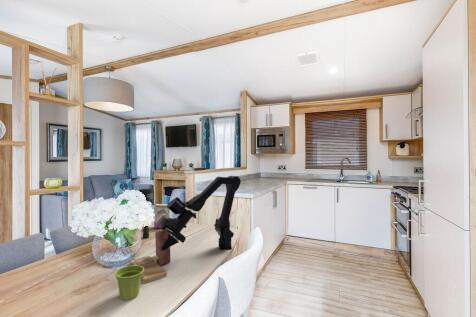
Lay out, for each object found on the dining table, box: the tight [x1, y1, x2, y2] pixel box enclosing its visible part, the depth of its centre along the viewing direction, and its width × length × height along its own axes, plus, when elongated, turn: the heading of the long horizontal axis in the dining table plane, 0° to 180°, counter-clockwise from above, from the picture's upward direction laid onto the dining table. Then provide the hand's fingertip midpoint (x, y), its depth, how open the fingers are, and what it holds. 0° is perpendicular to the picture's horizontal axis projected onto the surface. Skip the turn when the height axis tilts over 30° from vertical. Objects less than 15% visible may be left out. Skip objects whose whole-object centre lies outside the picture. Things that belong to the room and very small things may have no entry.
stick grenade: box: [138, 187, 154, 239], centre depth 146 cm, size 8×9×30 cm
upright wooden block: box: [137, 228, 171, 266], centre depth 108 cm, size 14×5×15 cm, turn 128°
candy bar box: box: [153, 203, 173, 229], centre depth 168 cm, size 11×5×16 cm, turn 84°
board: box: [129, 255, 168, 284], centre depth 103 cm, size 22×9×2 cm, turn 38°
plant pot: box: [114, 265, 144, 301], centre depth 84 cm, size 9×9×9 cm
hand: (160, 248), depth 110 cm, fingers closed on upright wooden block, 5 cm apart
